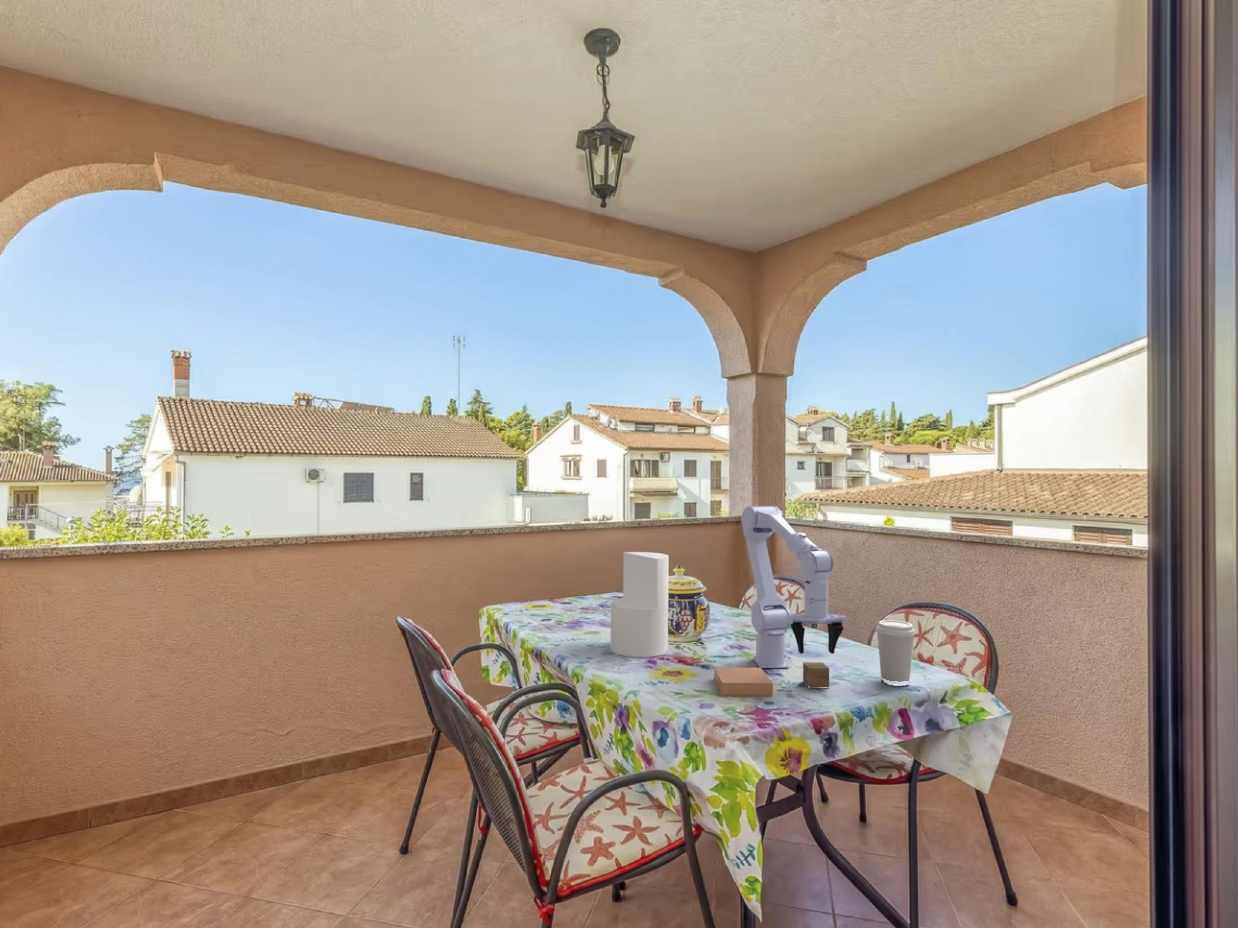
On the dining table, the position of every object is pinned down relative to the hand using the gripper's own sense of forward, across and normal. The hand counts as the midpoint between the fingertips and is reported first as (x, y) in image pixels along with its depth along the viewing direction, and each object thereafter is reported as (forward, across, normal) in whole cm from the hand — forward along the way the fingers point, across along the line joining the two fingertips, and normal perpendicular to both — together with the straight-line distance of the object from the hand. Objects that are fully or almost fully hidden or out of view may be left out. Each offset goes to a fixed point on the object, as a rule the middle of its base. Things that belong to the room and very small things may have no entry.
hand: (816, 652), depth 161 cm
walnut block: (+8, 0, 0) cm, 8 cm away
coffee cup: (+8, +21, +2) cm, 23 cm away
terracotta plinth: (+8, -19, -2) cm, 21 cm away
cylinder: (+8, -43, +32) cm, 54 cm away
